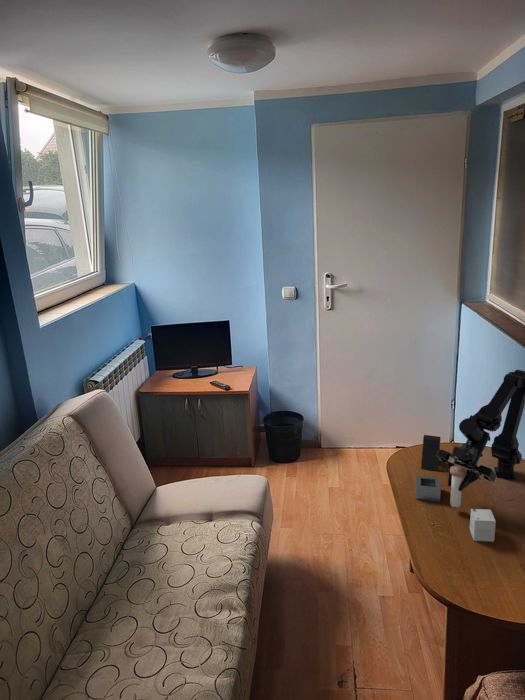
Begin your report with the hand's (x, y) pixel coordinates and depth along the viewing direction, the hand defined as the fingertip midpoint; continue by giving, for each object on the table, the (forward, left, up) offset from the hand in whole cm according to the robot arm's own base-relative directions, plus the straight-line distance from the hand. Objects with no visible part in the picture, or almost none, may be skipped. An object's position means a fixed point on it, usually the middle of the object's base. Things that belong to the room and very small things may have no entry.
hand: (454, 488), depth 168 cm
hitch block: (-10, -8, -9) cm, 15 cm away
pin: (-1, +1, -7) cm, 7 cm away
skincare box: (+10, +8, -9) cm, 16 cm away
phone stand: (-30, -6, -9) cm, 32 cm away
